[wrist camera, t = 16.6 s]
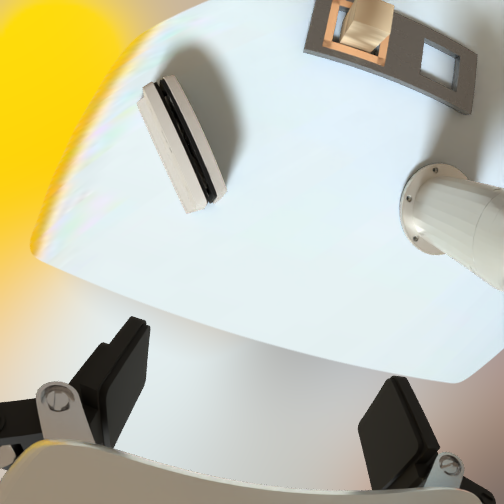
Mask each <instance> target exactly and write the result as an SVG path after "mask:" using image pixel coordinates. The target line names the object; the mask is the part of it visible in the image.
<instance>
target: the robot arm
mask: <svg viewBox="0 0 504 504" xmlns="http://www.w3.org/2000/svg"><path fill="white" fill-rule="evenodd" d="M433 169H434V171H433ZM407 196H408V199H406V198H407ZM400 220H401V225H402V228H403V231H404V233H405V235H406V237H407V238H408V240H409V241H410V242H411V243H412V244H413V245H414V246H415V247H416V248H417V249H419V250H421V251H422V252H424V253H427V254H430V255H443V254H447V255H448V256H450V257H451V258H452V259H454V260H455V261H457V262H458V263H460V264H461V265H463V266H464V267H465V268H467V269H468V270H470V271H471V272H472V273H474V274H475V275H477V276H478V277H479V278H481V279H482V280H483V281H485V282H486V283H488V284H489V285H491V286H492V287H494V288H495V289H497V290H499V291H502V292H504V188H501V187H496V186H492V185H488V184H484V183H479V182H474V181H470V180H468V179H467V177H466V176H465V175H464V174H463V173H462V172H461V171H460V170H459V169H457V168H455V167H454V166H451V165H448V164H441V163H438V164H431V165H427V166H425V167H423V168H421V169H419V170H418V171H417V172H416V173H415V174H414V175H413V176H412V177H411V178H410V180H409V181H408V183H407V184H406V186H405V188H404V191H403V194H402V197H401V202H400ZM414 236H415V237H414ZM413 237H414V239H413ZM149 337H150V326H148V325H146V321H145V320H142V319H139V318H136V317H133V316H131V317H130V318H129V319H128V321H127V322H126V323H125V324H124V326H123V327H122V328H121V329H120V331H119V332H118V333H117V335H116V336H115V337H114V338H113V340H112V341H111V342H110V344H107V343H104V342H103V343H101V344H100V345H99V346H98V347H97V348H96V350H95V351H94V352H93V353H92V355H91V356H90V357H89V358H88V360H87V361H86V362H85V363H84V365H83V366H82V367H81V368H80V370H79V371H78V372H77V374H76V375H75V376H74V377H73V379H72V380H71V381H70V383H69V384H67V383H63V382H49V383H46V384H44V385H42V386H41V387H40V388H39V389H38V391H37V393H36V398H34V399H26V400H19V401H11V402H1V403H0V469H1V468H2V469H5V470H7V472H6V473H5V475H4V476H3V478H2V479H1V481H0V504H496V502H495V498H494V496H493V494H492V493H491V492H489V491H488V490H486V489H484V488H483V487H481V486H479V485H478V484H476V483H474V482H473V481H471V480H469V479H468V478H466V477H464V476H463V474H464V465H463V463H462V461H461V460H460V459H459V457H457V456H456V455H455V454H452V453H450V452H443V453H440V454H439V455H438V452H437V451H438V450H439V449H440V446H439V444H438V442H437V439H436V437H435V435H434V433H433V431H432V429H431V427H430V424H429V422H428V420H427V418H426V416H425V414H424V412H423V410H422V408H421V406H420V404H419V402H418V400H417V398H416V396H415V394H414V392H413V390H412V388H411V386H410V384H409V382H408V380H407V378H406V377H401V376H392V377H391V378H390V379H387V380H386V381H385V383H384V385H383V386H382V388H381V390H380V391H379V393H378V395H377V396H376V398H375V400H374V401H373V403H372V404H371V406H370V407H369V409H368V410H367V412H366V413H365V415H364V417H363V418H362V419H361V421H360V423H359V425H358V433H359V437H360V440H361V445H362V449H363V453H364V457H365V461H366V465H367V470H368V474H369V478H370V483H371V487H372V490H368V491H337V490H336V491H335V490H312V489H297V488H287V487H277V486H268V485H262V484H255V483H248V482H241V481H236V480H230V479H225V478H220V477H215V476H210V475H205V474H202V473H197V472H193V471H189V470H185V469H181V468H177V467H173V466H170V465H166V464H163V463H159V462H155V461H152V460H149V459H146V458H143V457H139V456H136V455H133V454H130V453H126V452H123V451H120V450H117V449H114V446H115V444H116V441H117V440H118V437H119V435H120V433H121V431H122V429H123V427H124V425H125V423H126V421H127V419H128V417H129V415H130V413H131V411H132V409H133V407H134V405H135V403H136V401H137V399H138V397H139V395H140V393H141V391H142V389H143V387H144V384H145V381H146V371H147V370H146V369H147V358H148V347H149Z"/></svg>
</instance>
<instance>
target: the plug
mask: <svg viewBox="0 0 504 504" xmlns="http://www.w3.org/2000/svg"><path fill="white" fill-rule="evenodd" d="M393 12H394V5H391V4H389V3H386V2H384V1H381V0H355V1H354V2H353V4H352V6H351V8H350V10H349V11H348V13H347V15H346V17H345V19H344V20H343V23H342V28H341V32H340V37H339V42H338V43H339V44H342V45H346V46H349V47H352V48H355V49H358V50H361V51H364V52H367V53H369V54H370V53H371V52H372V51H373V50H374V49H375V48H376V47H377V46H378V45H379V44H380V43H381V42H382V41H383V40H384V39H385V38H386V37H387V36H388V35H389V34H390V32H391V25H392V19H393Z"/></svg>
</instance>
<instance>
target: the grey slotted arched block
mask: <svg viewBox="0 0 504 504" xmlns="http://www.w3.org/2000/svg"><path fill="white" fill-rule="evenodd" d="M143 95H144V97H143V98H142V99H141V100H139V101H138V102H137V106H138V108H139V111H140V113H141V115H142V118H143V120H144V122H145V124H146V127H147V129H148V131H149V134H150V136H151V138H152V140H153V143H154V145H155V147H156V149H157V151H158V154H159V156H160V158H161V160H162V163H163V165H164V167H165V169H166V171H167V173H168V176H169V178H170V180H171V182H172V184H173V186H174V189H175V191H176V193H177V195H178V197H179V199H180V201H181V203H182V206H183V208H184V210H185V212H186V214H188V213H191V212H195V211H199V210H202V209H204V208H205V206H206V205H207V203H208V201H209V203H212V202H213V204H215V203H216V202H217V201H219V200H220V199H221V198H222V197H223V196H224V194H225V193H226V192H227V188H226V185H225V183H224V180H223V177H222V175H221V172H220V170H219V167H218V165H217V162H216V160H215V157H214V155H213V153H212V150H211V148H210V145H209V143H208V141H207V139H206V136H205V134H204V132H203V130H202V128H201V125H200V123H199V121H198V119H197V117H196V115H195V113H194V111H193V109H192V107H191V105H190V103H189V101H188V99H187V97H186V95H185V93H184V91H183V89H182V87H181V86H180V84H179V82H178V80H177V79H176V77H175V75H170V76H164V77H163V79H162V80H160V86H159V85H158V84H157V82H155V83H153V82H150V83H149V84H147V85H146V86H144V87H143ZM182 133H183V134H184V136H185V139H186V141H187V143H188V145H189V147H190V150H191V152H192V155H191V153H190V151H189V149H188V146H187V144H186V142H185V140H184V137H183V135H182ZM192 156H193V157H192Z"/></svg>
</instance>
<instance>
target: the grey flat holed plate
mask: <svg viewBox="0 0 504 504" xmlns="http://www.w3.org/2000/svg"><path fill="white" fill-rule="evenodd" d="M354 1H355V0H316V2H315V6H314V10H313V14H312V18H311V23H310V27H309V31H308V35H307V39H306V44H305V48H304V53H308V54H311V55H315V56H319V57H323V58H326V59H330V60H333V61H336V62H340V63H343V64H346V65H349V66H352V67H355V68H358V69H361V70H364V71H367V72H370V73H373V74H376V75H378V76H381V77H384V78H386V79H389V80H391V81H394V82H396V83H399V84H401V85H404V86H406V87H408V88H411V89H413V90H415V91H418V92H420V93H422V94H424V95H427V96H429V97H431V98H433V99H435V100H437V101H439V102H441V103H443V104H445V105H447V106H449V107H451V108H453V109H455V110H457V111H459V112H461V113H463V114H465V115H469V114H471V111H472V104H473V96H474V88H475V78H476V66H477V54H475V53H474V52H472V51H470V50H469V49H467V48H465V47H464V46H462V45H460V44H458V43H457V42H455V41H453V40H451V39H449V38H447V37H446V36H444V35H442V34H440V33H438V32H436V31H434V30H432V29H430V28H428V27H426V26H424V25H421V24H419V23H417V22H415V21H413V20H410V19H408V18H406V17H404V16H401V15H399V14H396V13H394V12H393V19H392V25H391V32H390V34H389V35H388V36H387V37H386V38H385V39H384V40H383V41H382V42H381V43H380V44H379V45H378V46H377V48H376V53H375V55H372V54H369V53H367V52H364V51H361V50H358V49H355V48H352V47H349V46H346V45H342V44H339V43H336V42H332V39H333V34H334V30H335V25H336V20H337V15H338V11H339V10H340V11H343V12H346V13H348V11H349V10H350V8H351V6H352V4H353V2H354ZM424 43H426V44H428V45H430V46H432V47H434V48H436V49H438V50H440V51H442V52H444V53H446V54H448V55H450V56H452V57H453V58H455V67H454V76H453V84H452V90H451V89H449V88H447V87H445V86H443V85H441V84H439V83H437V82H435V81H433V80H431V79H429V78H427V77H424V76H422V75H420V68H421V62H422V54H423V46H424Z"/></svg>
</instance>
